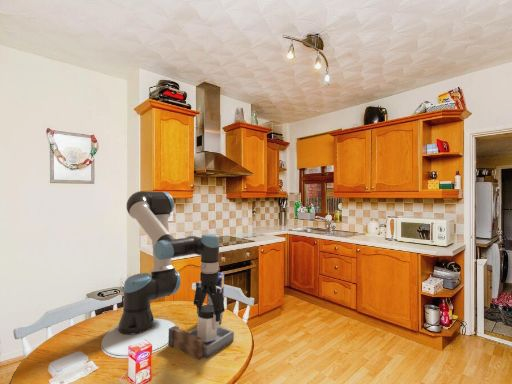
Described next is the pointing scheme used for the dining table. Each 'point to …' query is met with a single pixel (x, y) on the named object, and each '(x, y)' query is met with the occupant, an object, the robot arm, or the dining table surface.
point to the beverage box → (220, 284)
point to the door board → (186, 342)
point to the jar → (206, 323)
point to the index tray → (216, 341)
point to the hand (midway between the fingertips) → (208, 325)
